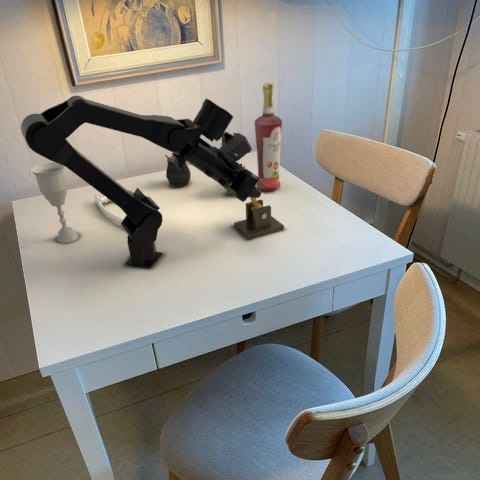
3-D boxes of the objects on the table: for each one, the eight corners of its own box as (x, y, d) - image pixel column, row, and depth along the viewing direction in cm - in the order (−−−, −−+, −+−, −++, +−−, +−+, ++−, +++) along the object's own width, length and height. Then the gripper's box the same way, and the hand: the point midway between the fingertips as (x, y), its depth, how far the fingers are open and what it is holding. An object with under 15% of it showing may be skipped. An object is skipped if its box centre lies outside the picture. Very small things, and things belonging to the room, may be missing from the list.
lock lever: (249, 192, 113) (257, 186, 113) (239, 184, 117) (247, 179, 117) (261, 222, 119) (269, 217, 120) (251, 215, 123) (259, 209, 123)
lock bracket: (248, 239, 119) (247, 215, 115) (233, 226, 124) (232, 203, 120) (284, 229, 122) (284, 206, 118) (268, 217, 128) (268, 194, 124)
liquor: (267, 195, 139) (266, 88, 122) (250, 188, 143) (247, 84, 126) (286, 188, 142) (288, 83, 125) (269, 181, 147) (269, 79, 130)
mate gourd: (196, 182, 149) (193, 149, 143) (181, 191, 144) (177, 157, 138) (177, 178, 152) (173, 145, 146) (162, 186, 147) (157, 153, 141)
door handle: (119, 194, 144) (162, 223, 127) (88, 204, 139) (128, 235, 123) (117, 186, 142) (160, 214, 126) (85, 195, 137) (126, 225, 121)
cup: (216, 191, 142) (214, 164, 137) (239, 186, 145) (237, 159, 140) (226, 201, 137) (224, 173, 132) (250, 195, 139) (249, 168, 134)
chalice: (52, 246, 120) (30, 175, 109) (53, 234, 125) (32, 164, 114) (83, 241, 121) (64, 170, 110) (82, 229, 126) (64, 160, 115)
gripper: (246, 136, 98) (295, 175, 108) (208, 115, 111) (255, 151, 122) (216, 184, 101) (266, 217, 111) (182, 158, 114) (230, 189, 124)
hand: (254, 191), depth 117 cm, fingers closed on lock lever, 5 cm apart
